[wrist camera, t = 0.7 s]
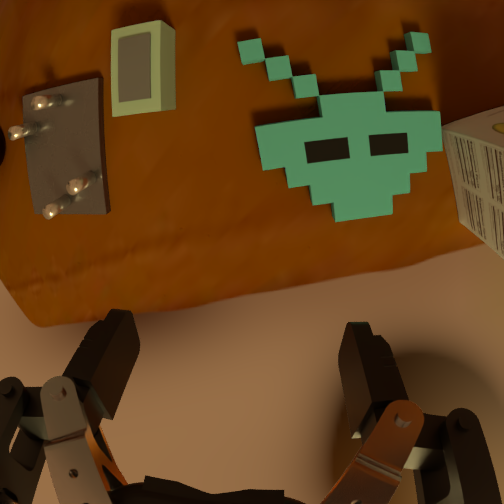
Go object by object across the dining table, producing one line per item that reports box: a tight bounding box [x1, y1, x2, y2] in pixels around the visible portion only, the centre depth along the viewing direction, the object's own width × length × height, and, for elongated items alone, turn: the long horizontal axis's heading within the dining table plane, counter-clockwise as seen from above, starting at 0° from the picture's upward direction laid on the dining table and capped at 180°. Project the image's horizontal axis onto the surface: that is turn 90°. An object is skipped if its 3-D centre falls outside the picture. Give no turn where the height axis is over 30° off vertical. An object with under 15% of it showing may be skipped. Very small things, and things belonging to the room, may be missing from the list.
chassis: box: [8, 78, 111, 219], centre depth 29 cm, size 16×12×5 cm
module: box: [111, 20, 176, 117], centre depth 25 cm, size 9×5×5 cm, turn 0°
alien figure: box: [237, 32, 442, 222], centre depth 29 cm, size 20×2×20 cm
